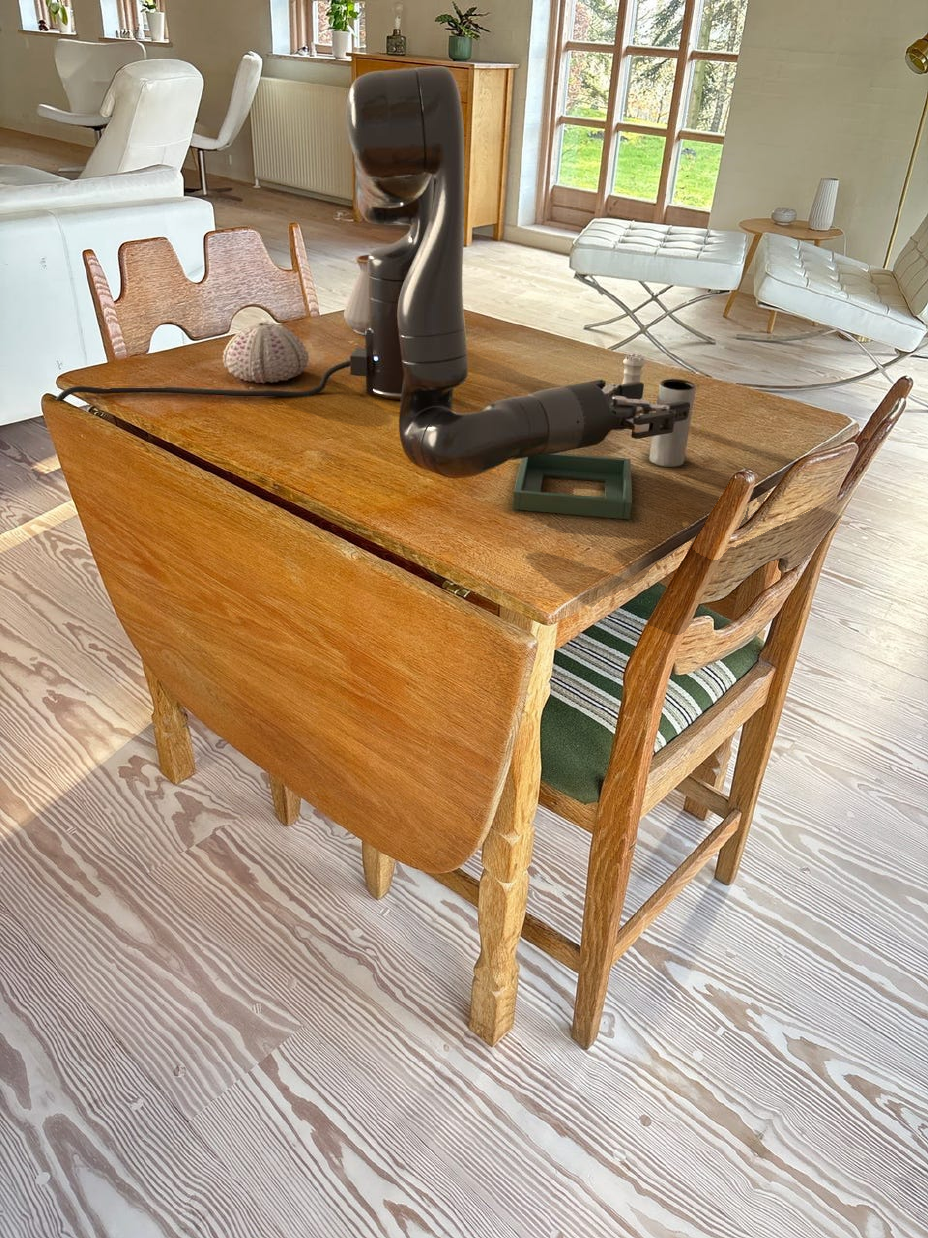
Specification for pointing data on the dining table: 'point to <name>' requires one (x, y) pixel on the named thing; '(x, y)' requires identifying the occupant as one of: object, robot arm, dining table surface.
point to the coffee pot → (359, 300)
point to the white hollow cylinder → (673, 445)
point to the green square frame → (575, 467)
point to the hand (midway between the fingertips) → (663, 399)
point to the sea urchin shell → (265, 354)
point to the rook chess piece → (633, 370)
